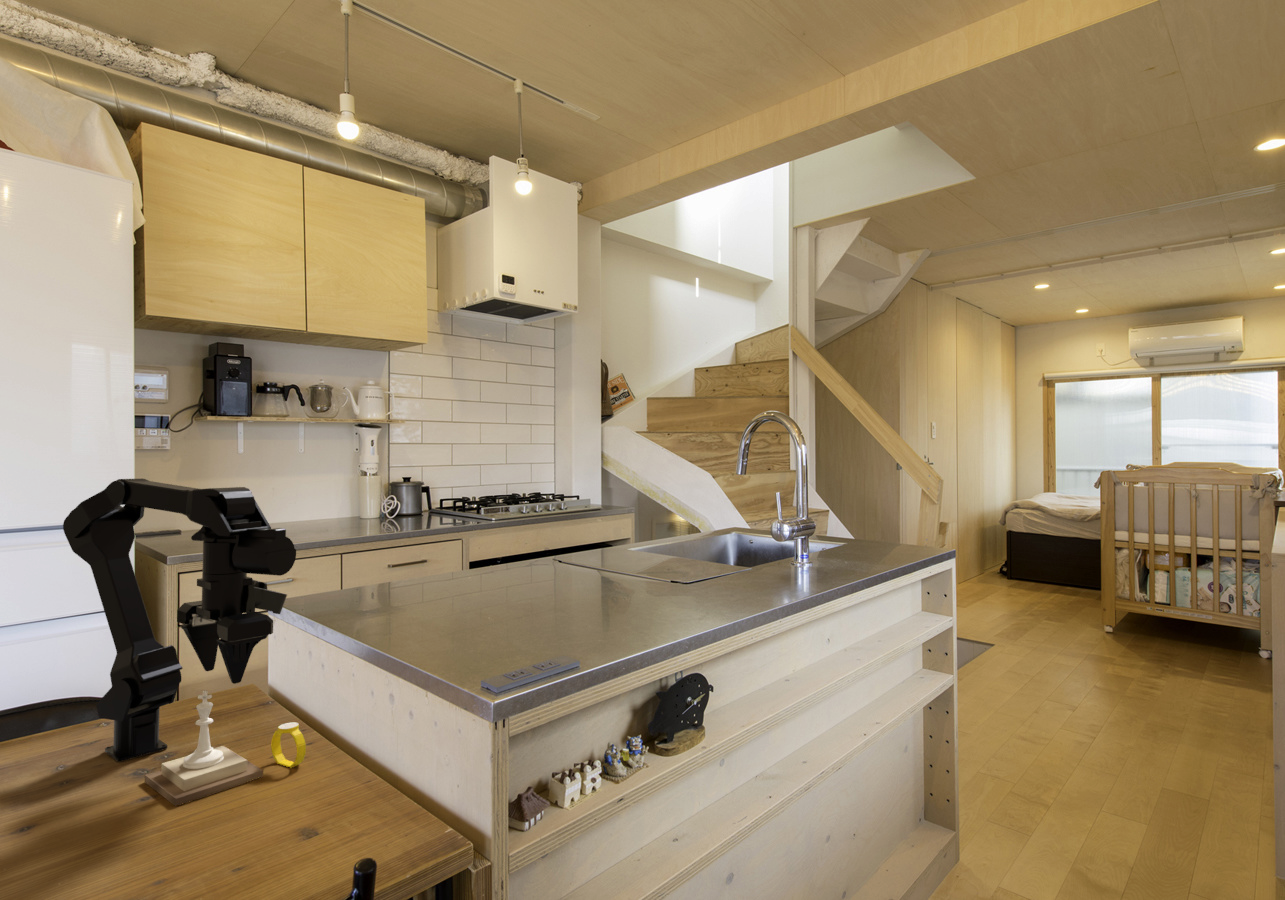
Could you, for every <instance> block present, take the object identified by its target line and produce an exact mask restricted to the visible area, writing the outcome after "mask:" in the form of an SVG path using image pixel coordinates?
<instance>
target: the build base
mask: <svg viewBox="0 0 1285 900" xmlns="http://www.w3.org/2000/svg"><path fill="white" fill-rule="evenodd" d="M213 749H216V750H220V751H222V752H223V756H224V759H223V760H222V761H221V762H219V763H218V764H215V765H213V766H210V767H206V768H200V769H188V768H185V767H183V763H184V759H185V758H186V757H187V756H188V755H186V756H183V757H179V758H176V759H173V760H169V761H168V760H167V761H166V762H162V763H161V766H160V767H161V770H157V771H153V772H151V773H147V774H144V783H145V784H147V785H148V786H149V787H150V788H151V789H153V790H154V791H155V792H157V793H158V794H159V795H160V796H162V797H163V798H164V799H165V800H167V801H168V802H169V801H170V802H169V803H170V804H172V805H173V804H174V805H175V806H174V805H173V806H174V807H177V806H176V805H179V806H181V805H180V804H182V803H185V804H187V803H186V802H188V803H190V802H189V801H191V802H193V801H192V800H194V801H196V800H195V799H197V800H199V798H200V799H202V797H203V798H206V797H208V796H212V795H213V794H217V793H220V792H222V791H223V792H224V791H225V790H228V789H231V788H234V787H238V786H240V784H241V785H244V784H246V783H245V782H247V781H250V780H252V779H256V778H258V777H261V778H263V777H264V770H263V769H262V768H260V767H259V766H257V765H255V764H254V763H252V762H250V761H249V760H248V759H246V758H244V757H243V756H241V755H239V754H237V753H236V752H235V751H233V750H232V749H229V748H228V747H226V746H224V745H221V746H217V747H216V746H215V747H213ZM262 776H263V777H262ZM256 780H257V779H256ZM250 782H251V781H250ZM243 783H244V784H243ZM247 783H248V782H247ZM237 785H238V786H237ZM182 805H183V804H182Z"/></svg>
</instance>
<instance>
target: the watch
mask: <svg viewBox="0 0 1285 900" xmlns="http://www.w3.org/2000/svg"><path fill="white" fill-rule="evenodd" d="M299 727H300V724H299V722H294V721H293V722H291V721H290V722H286V723H282V724H280V725H278V727H277V729H276V730H275V731H274V733H273V735H272V737H271V742H270V743H271V744H270V749H271V753H272V757H273V760H274V761H275V763H276V764H277V765H278V764H280V765H279V766H282V765H283V767H285V766H286V768H288V767H290V768H289V769H293V768H295V767H294V766H296V767H298V766H300V764H302V762H304V760H305V756H306V755H307V754H306V753H307V752H306V751H307V749H306V748H307V744H306V740H305V737H304V735H303V733H302V732H301V730H300V728H299ZM283 734H290V736H291V737H292V738H293V740H294V744H295V746H296V756H295V759H294V761H292V760H288V759H287V758H286V756H285V755H284V753H283V752H282V750H283V749H282V745H281V740H282V739H281V738H282V735H283ZM297 765H298V766H297ZM292 767H293V768H292Z"/></svg>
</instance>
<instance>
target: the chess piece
mask: <svg viewBox="0 0 1285 900" xmlns="http://www.w3.org/2000/svg"><path fill="white" fill-rule="evenodd" d="M212 698H213V694H208V689H207V690H206V689H205V690H202V694H199V695H197V700H202V702H200V703H198V704H197V705H196V707H195V708H196V710H197V713H198V716H199V719H197V720H196V721H195V722H194V723H195V725H196V726H199V727H200V728H199V734H198V740H197V747H196V749H195V750H194V751H193V752H192V753H191V754H189V755H186V756H187V757H186V756H185V757H186V758H185V759H184V763H183V767H185V768H188V769H200V768H206V767H210V766H213V765H215V764H218V763H219V762H221V761H222V760H223V759H224V756H223V752H222V751H220V750H216V749H213V748H214V746H211V738H210V729H209V725H210V724H212V723H214V719H213V718H211V717H209V716H210V714H211V711H212V709H213V706H214V704H213V702H211V701H208V700H210V699H212Z"/></svg>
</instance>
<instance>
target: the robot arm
mask: <svg viewBox="0 0 1285 900" xmlns="http://www.w3.org/2000/svg"><path fill="white" fill-rule="evenodd" d="M252 492H253V491H252V490H251V489H250V488H248V487H245V486H243V487H242V486H235V487H233V486H232V487H231V486H230V487H213V488H211V487H209V488H196V487H191V486H185V485H184V486H183V485H177V484H172V483H163V482H156V481H153V480H152V481H151V480H148V479H146V478H118V479H116V480H113V481H112V482H110V483H109V484H108V485H107V486H106V487H105V489H102V490H101V491H100V492H98V493H96V494H94V495H92V496H90V497H88V498H87V499H85V500H83V501H81V502H80V503H79V504H78V505H77V506H76V507H75V508H74V509H72V510H71V511H70V512H69V514H68V515H67V516H66V517H65V518H64V520H63V523H62V529H63V532H64V533H63V534H64V536H65V537H66V540H67V542H68V544H69V546H70V549H71V550H72V552H73V553H74V554H75V555H77V556H78V557H79V558H81V559H82V560H83V561H85V562H86V563H87V564H88V565H89V567H90V568H91V571H92V572H91V573H92V574H93V575H92V576H93V578H94V582H95V585H96V589H97V591H98V594H99V598H100V601H101V604H102V605H101V606H102V608H103V611H104V614H105V618H106V621H107V624H108V627H109V630H110V634H111V637H112V641H113V644H114V647H115V651H116V655H115V658H114V662H113V665H112V667H111V669H110V672H109V676H110V681H111V687H110V688H109V689H108V691H107V692H106V693H105V694H104V695H103V696H102V697H101V699H100V700H98V701H97V703H96V707H95V708H96V710H97V714H98V718H100V719H102V720H103V719H104V720H111V721H113V745H110V746H106V747H105V748H104V752H105V753H106V754H107V755H108V756H110V757H111V758H113V759H114V760H115V761H116V762H118V763H119V762H124V761H127V760H132V759H134V758H138V757H142V756H145V755H150V754H152V753H153V754H154V753H157V752H160V751H163V750H166V749H168V744H167V743H165V742H164V741H162V740H160V708H161V707H163V706H166V705H171V704H173V703H174V701H175V698H176V694H177V691H178V688H179V686H180V683H182V672H181V670H183V665H181V663H180V662H179V659H178V653H177V650H176V648H175V647H174V645H173V644H171V645H170V644H169V645H167V646H164V645H162V644H161V643H160V642H159V641H157V640H156V638H155V635H154V634H155V633H154V631H153V628H152V626H151V621H150V619H149V615H148V611H147V609H146V606H145V603H144V600H143V596H142V594H141V593H142V592H141V590H140V587H139V584H138V580H137V578H136V577H137V576H136V573H135V572H134V570H135V569H134V567H133V564H132V562H131V558H130V551H131V549H132V547H133V545H134V541H135V538H136V534H135V529H134V527H135V526H136V525H137V524H138V523H139V522H140V521H141V520H142V519H143V517H144V515H145V509H151V510H158V511H164V512H170V513H176V514H181V515H183V516H186V517H187V519H188V520H189V521H191V522H192V523H195V524H197V525H200V526H201V528H200V529H199V530H198V531H196V532H195V533H193V534H192V535H191V536H190V537H191V538H190V540H191V541H192V542H193V541H194V542H195V541H196V542H202V571H201V572H202V578H197V579H196V587H200V588H201V600H196V601H195V600H194V601H188V602H187V601H186V602H183V603H182V604H181V605H180V606H179V607H178V608H177V610H176V622H177V623H180V624H181V625H180V628H181V629H182V630H183V632H184V634H185V635H186V637H187V639H188V641H189V642H190V644H191V646H192V648H193V650H194V652H195V654H196V656H197V657H198V660H199V662H200V663H201V666H202V667H203V669H204V671H205V672H210V671H214V670H215V666H216V661H217V654H218V648H219V651H220V654H221V656H222V659H223V663H224V665H225V669H226V671H227V674H228V676H229V677H228V678H229V679H230V681H231V683H232V684H235V685H236V684H240V683H241V682H242V680H243V677H244V674H245V671H246V668H247V666H248V662H249V660H250V657H251V654H252V652H253V650H254V649H255V646H257V645H258V644H259V643H260V642H261V641H262V640H266V639H267V638H268V636H269V635H272V634H273V633H274V619H273V618H271V617H270V616H269V615H267V614H265V613H262V612H258V611H256V609H257V610H263V611H268V612H271V613H273V614H276V615H281V613H282V611H283V608H284V605H285V602H286V599H287V597H288V594H287V593H282V592H280V591H276V590H272V589H271V590H270V589H268V584H267V582H263V581H259V580H257V579H256V580H255V579H253V577H250V576H248V574H253V575H254V574H255V575H265V576H278V577H279V576H280V577H281V576H283V575H285V574H287V573H289V572H290V570H291V569H292V568H293V567H294V564H295V562H296V558H297V549H296V548H295V544H294V542H293V541H292V540H291V538H289V536H286V535H287V530H286V528H285V527H283V528H282V527H276V528H272V527H271V525H270V523H269V522H268V519H267V518H266V516H265V515H264V513H263V511H262V510H261V507H260V506H259V504H258V502H257V501H256V499H255V496H254V494H253V493H252Z"/></svg>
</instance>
